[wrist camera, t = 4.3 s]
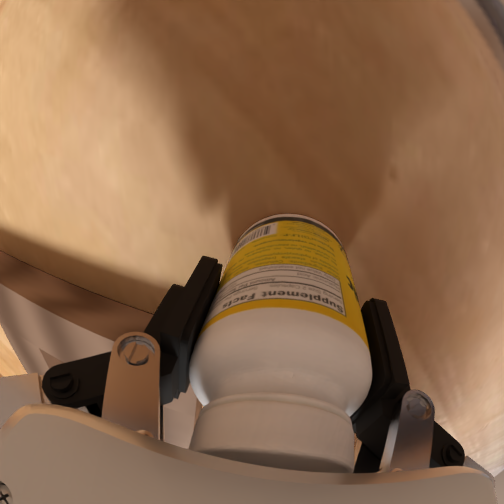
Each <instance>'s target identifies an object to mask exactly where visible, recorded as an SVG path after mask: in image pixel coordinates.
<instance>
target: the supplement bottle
mask: <svg viewBox="0 0 504 504" xmlns="http://www.w3.org/2000/svg"><path fill="white" fill-rule="evenodd" d="M189 378H190V383H191V386H192V389H193V391H194V393H195V395H196V397H197V398H198V400H199V401H200V402H201V404H202V405H203V406H204V407H203V408H202V410H201V411H200V413H199V416H198V419H197V421H196V424H195V428H194V431H193V435H192V438H191V442H190V445H189V448H188V449H189V450H193V451H196V452H200V453H203V454H207V455H211V456H215V457H219V458H224V459H228V460H233V461H238V462H243V463H248V464H254V465H259V466H266V467H272V468H280V469H288V470H297V471H308V472H322V473H353V471H354V431H353V428H352V422H351V419H350V416H351V415H352V414H353V413H354V412H355V411H357V409H358V408H359V407H360V406H361V405H362V403H363V402H364V400H365V399H366V397H367V395H368V392H369V389H370V386H371V382H372V365H371V357H370V351H369V346H368V341H367V337H366V332H365V327H364V323H363V318H362V314H361V310H360V306H359V301H358V297H357V293H356V290H355V286H354V282H353V278H352V274H351V270H350V266H349V262H348V259H347V256H346V253H345V250H344V248H343V246H342V244H341V242H340V240H339V239H338V237H337V236H336V235H335V234H334V232H333V231H332V230H330V229H329V228H328V227H327V226H326V225H324V224H323V223H321V222H319V221H317V220H315V219H313V218H310V217H307V216H303V215H298V214H278V215H273V216H270V217H267V218H264V219H262V220H260V221H258V222H256V223H255V224H253V225H252V226H251V227H249V228H248V229H247V230H246V231H245V232H244V233H243V234H242V236H241V237H240V239H239V240H238V242H237V244H236V246H235V248H234V250H233V252H232V254H231V257H230V259H229V262H228V264H227V267H226V269H225V271H224V273H223V277H222V279H221V281H220V284H219V286H218V289H217V292H216V294H215V296H214V299H213V301H212V304H211V306H210V309H209V311H208V314H207V316H206V318H205V321H204V323H203V326H202V328H201V331H200V333H199V335H198V338H197V340H196V343H195V346H194V350H193V352H192V355H191V359H190V363H189Z"/></svg>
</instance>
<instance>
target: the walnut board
mask: <svg viewBox="0 0 504 504" xmlns="http://www.w3.org/2000/svg"><path fill="white" fill-rule="evenodd" d="M152 317H153V314H150V313H147V312H144V311H141V310H138V309H135V308H133V307H130V306H127V305H124V304H121V303H119V302H116V301H113V300H111V299H108V298H105V297H103V296H100V295H98V294H95V293H92V292H90V291H87V290H85V289H82V288H80V287H78V286H75V285H73V284H70V283H68V282H66V281H63V280H61V279H59V278H56V277H54V276H52V275H50V274H47V273H45V272H43V271H41V270H39V269H36V268H34V267H32V266H30V265H28V264H26V263H24V262H22V261H20V260H18V259H16V258H14V257H12V256H10V255H8V254H6V253H4V252H2V251H0V324H1V326H2V328H3V330H4V332H5V334H6V336H7V338H8V340H9V342H10V344H11V346H12V347H13V349H14V351H15V353H16V355H17V356H18V358H19V360H20V362H21V363H22V365H23V367H24V368H25V370H26V372H27V373H28V374H31V373H38V374H39V375H44V374H45V373H46V372H47V370H49V369H50V368H51V367H53V366H55V365H58V364H62V363H66V362H70V361H75V360H79V359H83V358H87V357H91V356H95V355H98V354H102V353H106V352H110V351H112V347H113V344H114V342H115V341H116V340H117V339H118V337H120V336H122V335H123V334H125V333H129V332H142V333H143V332H144V330H145V328H146V327H147V325H148V323H149V322H150V320H151V318H152ZM201 410H202V404H201V402H200V401H199V400H198V398H197V397H196V395H195V393H194V391H193V389H192V386H191V383H190V384H189V387H188V390H187V392H186V393H183V392H181V393H180V395H179V398H178V399H175V398H174V399H173V401H172V402H170V403H168V404H165V405H164V440H165V442H167V443H170V444H173V445H176V446H179V447H182V448H186V449H188V448H189V445H190V442H191V438H192V435H193V431H194V428H195V424H196V421H197V419H198V416H199V413H200V411H201Z"/></svg>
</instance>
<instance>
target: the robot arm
mask: <svg viewBox="0 0 504 504" xmlns="http://www.w3.org/2000/svg"><path fill="white" fill-rule="evenodd" d="M221 270H222V264H218V260H217V259H214V258H210V257H207V256H202V258H201V259H200V261H199V263H198V265H197V266H196V268H195V270H194V272H193V273H192V275H191V277H190V278H189V280H188V282H187V284H186V285H185V287H183V286H180V285H176V284H173V285H172V286H171V288H170V289H169V291H168V292H167V294H166V296H165V297H164V299H163V300H162V302H161V304H160V305H159V307H158V309H157V310H156V312H155V313H154V315H153V317H152V318H151V320H150V322H149V323H148V325H147V327H146V328H145V330H144V332H143V333H142V332H129V333H125V334H123V335H122V336H120V337H118V339H117V340H116V341H115V342H114V344H113V347H112V351H110V352H106V353H102V354H98V355H95V356H91V357H87V358H83V359H79V360H75V361H70V362H66V363H62V364H58V365H55V366H53V367H51V368H50V369H49V370H47V372H46V373H45V374H44V375H39V374H38V373H31V374H24V375H16V376H8V377H0V504H498V503H497V497H496V492H495V480H494V477H493V476H492V475H491V473H489V472H488V471H487V470H485V469H484V468H483V467H481V466H480V465H479V464H477V463H476V462H475V461H474V460H472V459H471V458H470V457H468V456H466V457H465V454H464V450H463V448H462V446H461V445H460V443H459V442H458V441H457V440H455V439H454V438H453V437H452V436H451V435H450V434H449V433H448V432H446V431H445V430H444V429H443V428H442V427H441V426H440V425H439V424H438V423H436V422H435V421H434V415H435V409H434V405H433V402H432V400H431V399H430V397H429V396H428V395H426V394H425V393H424V392H422V391H419V390H410V386H409V384H410V383H409V379H408V375H407V371H406V367H405V363H404V360H403V356H402V352H401V349H400V345H399V341H398V338H397V335H396V331H395V328H394V325H393V321H392V318H391V315H390V312H389V309H388V306H387V303H386V301H383V300H379V299H374V298H372V299H370V301H366V302H365V303H364V305H363V307H362V309H361V314H362V318H363V323H364V327H365V332H366V337H367V341H368V346H369V351H370V357H371V365H372V382H371V386H370V389H369V392H368V395H367V397H366V399H365V400H364V402H363V403H362V405H361V406H360V407H359V408H358V409H357V411H355V412H354V413H353V414H352V415H351V416H350V419H351V422H352V428H353V431H354V433H356V436H357V438H358V439H357V442H356V445H355V448H354V471H353V473H322V472H308V471H297V470H288V469H280V468H272V467H266V466H259V465H254V464H248V463H243V462H238V461H233V460H228V459H224V458H219V457H215V456H211V455H207V454H203V453H200V452H196V451H193V450H189V449H186V448H182V447H179V446H176V445H173V444H170V443H167V442H165V440H164V405H165V404H168V403H170V402H172V401H173V399H174V398H175V399H178V398H179V395H180V393H181V392H183V393H186V392H187V390H188V387H189V384H190V378H189V363H190V359H191V355H192V352H193V350H194V346H195V343H196V340H197V338H198V335H199V333H200V331H201V328H202V326H203V323H204V321H205V318H206V316H207V314H208V311H209V309H210V306H211V304H212V301H213V299H214V296H215V294H216V292H217V289H218V286H219V282H220V276H221Z"/></svg>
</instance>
